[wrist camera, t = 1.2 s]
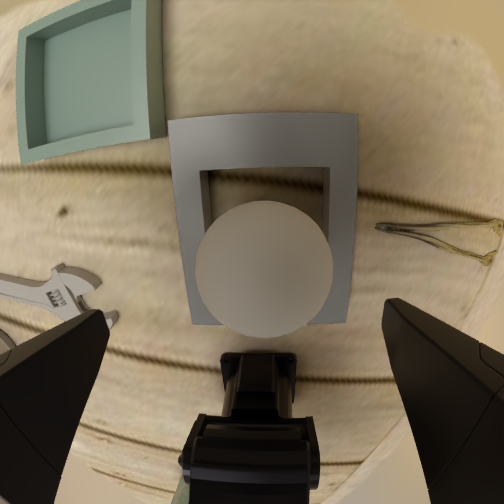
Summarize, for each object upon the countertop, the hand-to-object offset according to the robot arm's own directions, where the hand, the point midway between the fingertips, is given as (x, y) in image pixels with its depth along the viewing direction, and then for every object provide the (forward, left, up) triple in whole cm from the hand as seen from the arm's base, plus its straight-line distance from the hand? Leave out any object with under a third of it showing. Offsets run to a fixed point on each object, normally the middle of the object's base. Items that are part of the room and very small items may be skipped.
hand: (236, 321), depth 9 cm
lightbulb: (-1, -1, -13) cm, 13 cm away
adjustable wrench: (-6, +25, -14) cm, 29 cm away
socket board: (-1, -1, -13) cm, 13 cm away
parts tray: (+11, +11, -13) cm, 20 cm away
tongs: (-3, -15, -14) cm, 20 cm away
